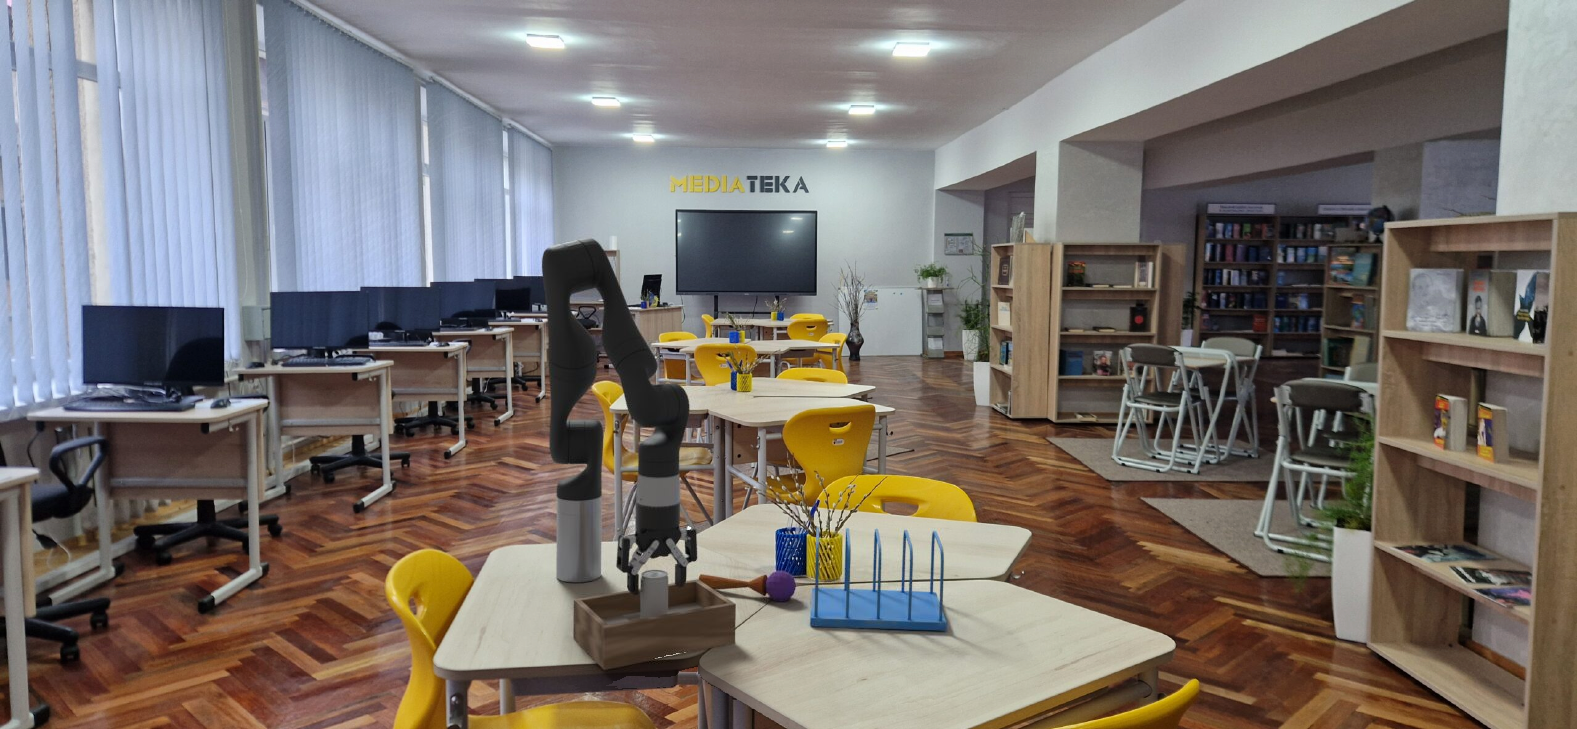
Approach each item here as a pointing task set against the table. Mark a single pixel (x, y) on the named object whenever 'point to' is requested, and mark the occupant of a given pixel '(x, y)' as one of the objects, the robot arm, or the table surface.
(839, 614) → the file sorter
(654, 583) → the beverage can
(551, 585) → the table surface
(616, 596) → the box
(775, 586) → the purple maraca
